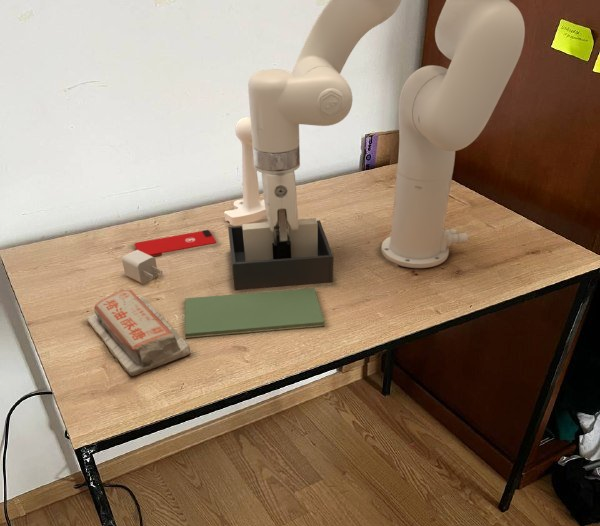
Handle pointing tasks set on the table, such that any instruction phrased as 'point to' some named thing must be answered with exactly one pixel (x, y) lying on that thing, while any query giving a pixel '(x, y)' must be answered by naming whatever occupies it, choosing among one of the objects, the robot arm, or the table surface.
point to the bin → (279, 265)
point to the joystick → (247, 182)
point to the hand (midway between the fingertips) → (281, 258)
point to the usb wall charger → (140, 266)
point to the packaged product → (136, 332)
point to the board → (262, 238)
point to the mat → (252, 312)
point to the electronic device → (175, 243)
